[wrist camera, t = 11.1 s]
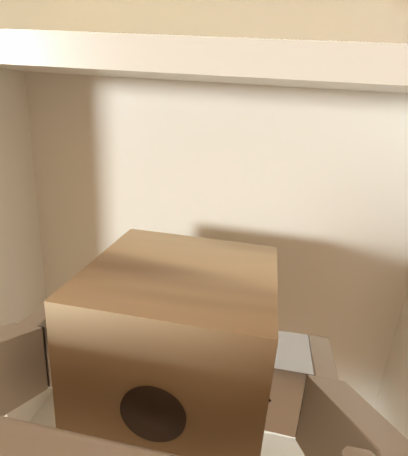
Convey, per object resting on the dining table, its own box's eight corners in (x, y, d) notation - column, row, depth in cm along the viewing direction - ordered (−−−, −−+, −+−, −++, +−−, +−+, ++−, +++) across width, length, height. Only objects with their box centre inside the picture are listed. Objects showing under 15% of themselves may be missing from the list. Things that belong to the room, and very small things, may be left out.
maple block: (259, 372, 12) (250, 516, 8) (131, 348, 13) (58, 470, 8) (277, 246, 10) (278, 341, 6) (130, 228, 11) (42, 302, 7)
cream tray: (374, 458, 15) (401, 554, 12) (48, 389, 17) (-5, 455, 14) (491, 69, 10) (593, 50, 7) (13, 47, 12) (-80, 25, 9)
